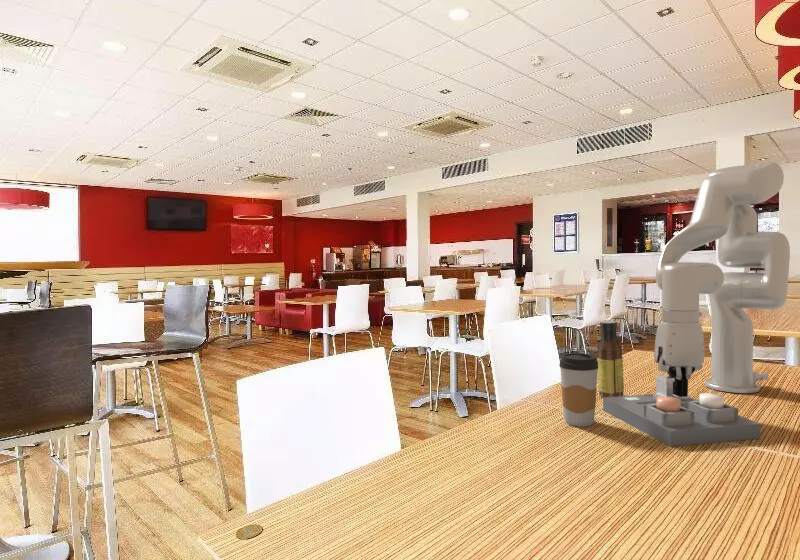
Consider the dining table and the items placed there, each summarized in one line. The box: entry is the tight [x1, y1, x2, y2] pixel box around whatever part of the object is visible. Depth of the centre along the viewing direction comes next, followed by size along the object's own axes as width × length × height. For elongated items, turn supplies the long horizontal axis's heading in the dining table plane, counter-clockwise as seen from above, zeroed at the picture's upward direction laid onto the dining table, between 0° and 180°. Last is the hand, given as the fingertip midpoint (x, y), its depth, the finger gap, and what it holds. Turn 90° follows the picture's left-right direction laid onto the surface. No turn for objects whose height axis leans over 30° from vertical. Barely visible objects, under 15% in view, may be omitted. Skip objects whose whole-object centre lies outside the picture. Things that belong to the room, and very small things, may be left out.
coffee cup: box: [558, 352, 599, 428], centre depth 115 cm, size 8×8×15 cm
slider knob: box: [652, 373, 676, 400], centre depth 119 cm, size 3×4×6 cm
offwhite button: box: [698, 392, 725, 409], centre depth 108 cm, size 4×4×2 cm
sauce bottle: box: [596, 320, 625, 398], centre depth 134 cm, size 7×6×20 cm
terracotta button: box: [657, 396, 681, 413], centre depth 106 cm, size 4×4×2 cm
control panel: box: [602, 393, 762, 447], centre depth 113 cm, size 20×24×6 cm
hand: (679, 395), depth 120 cm, fingers closed
